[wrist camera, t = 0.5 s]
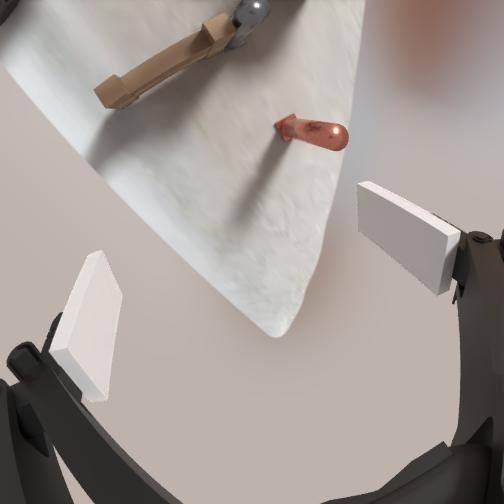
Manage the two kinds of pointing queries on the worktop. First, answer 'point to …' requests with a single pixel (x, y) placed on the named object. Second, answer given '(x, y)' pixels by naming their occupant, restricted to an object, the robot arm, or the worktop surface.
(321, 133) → the gate posts
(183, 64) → the gate
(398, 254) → the robot arm
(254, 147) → the worktop surface
